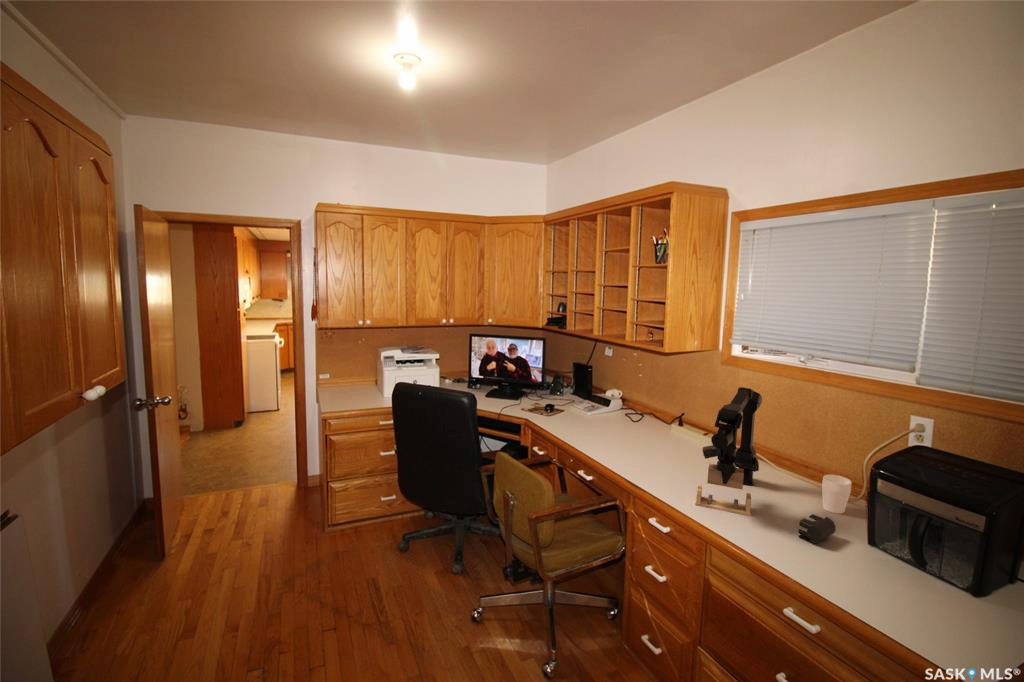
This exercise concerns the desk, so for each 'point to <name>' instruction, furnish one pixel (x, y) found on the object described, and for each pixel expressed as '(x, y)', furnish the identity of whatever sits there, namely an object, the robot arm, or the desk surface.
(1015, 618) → the desk surface
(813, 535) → the end cap
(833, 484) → the cup
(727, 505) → the peg frame
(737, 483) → the brown rectangular block
